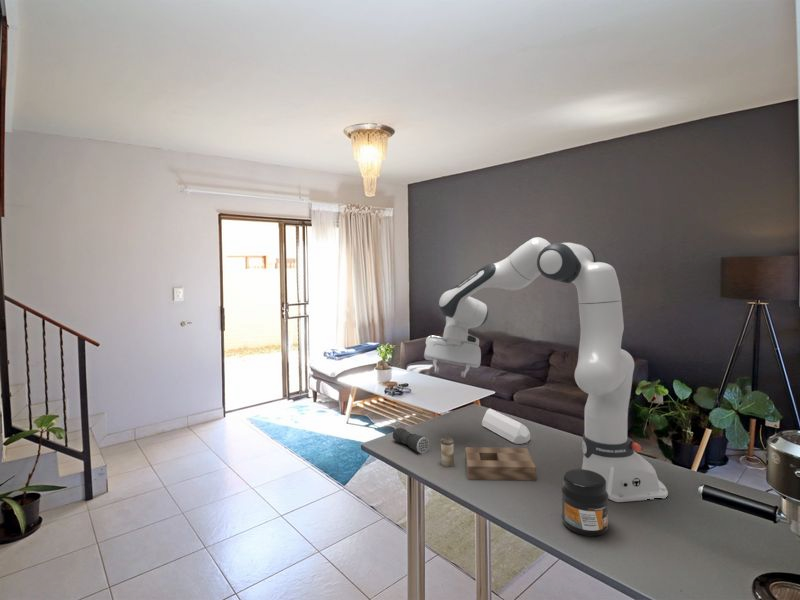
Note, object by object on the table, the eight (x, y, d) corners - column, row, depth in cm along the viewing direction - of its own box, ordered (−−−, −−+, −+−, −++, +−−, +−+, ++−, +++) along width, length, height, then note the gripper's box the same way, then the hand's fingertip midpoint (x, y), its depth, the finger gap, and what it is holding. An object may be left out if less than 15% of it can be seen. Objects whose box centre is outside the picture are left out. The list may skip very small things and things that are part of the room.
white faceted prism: (475, 416, 174) (513, 437, 152) (487, 405, 176) (527, 424, 154) (483, 430, 176) (521, 452, 154) (495, 419, 178) (535, 439, 156)
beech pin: (453, 461, 143) (453, 437, 142) (454, 467, 139) (453, 442, 138) (441, 461, 143) (440, 437, 143) (441, 466, 139) (440, 442, 138)
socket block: (527, 459, 142) (526, 447, 142) (536, 480, 128) (535, 467, 128) (465, 458, 144) (465, 447, 144) (467, 479, 130) (467, 466, 130)
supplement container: (591, 544, 98) (591, 493, 98) (552, 522, 107) (552, 475, 106) (617, 527, 104) (617, 479, 103) (578, 508, 113) (578, 463, 112)
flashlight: (391, 442, 161) (390, 428, 160) (402, 438, 164) (402, 424, 164) (417, 455, 149) (417, 440, 148) (429, 451, 152) (429, 436, 151)
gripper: (426, 331, 157) (420, 366, 151) (483, 339, 154) (479, 376, 148) (426, 338, 163) (420, 372, 156) (481, 346, 160) (477, 382, 153)
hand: (449, 374), depth 152 cm, fingers open, 8 cm apart
